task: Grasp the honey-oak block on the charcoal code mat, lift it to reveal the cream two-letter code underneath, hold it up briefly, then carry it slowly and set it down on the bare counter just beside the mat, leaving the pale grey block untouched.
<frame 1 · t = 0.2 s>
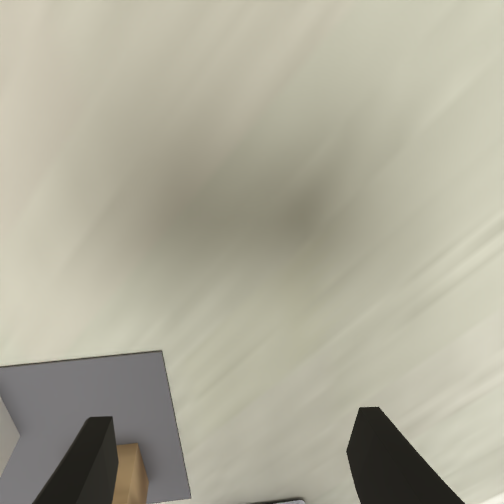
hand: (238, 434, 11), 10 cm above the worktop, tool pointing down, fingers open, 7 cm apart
code mat: (64, 447, 25), on the worktop
oak block: (110, 467, 26), resting on code mat
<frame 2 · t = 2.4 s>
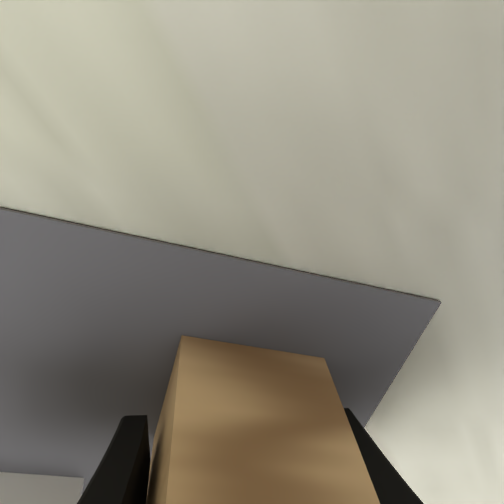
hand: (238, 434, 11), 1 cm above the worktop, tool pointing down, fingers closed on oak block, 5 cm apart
code mat: (145, 438, 13), on the worktop
oak block: (236, 399, 12), resting on code mat, touching gripper
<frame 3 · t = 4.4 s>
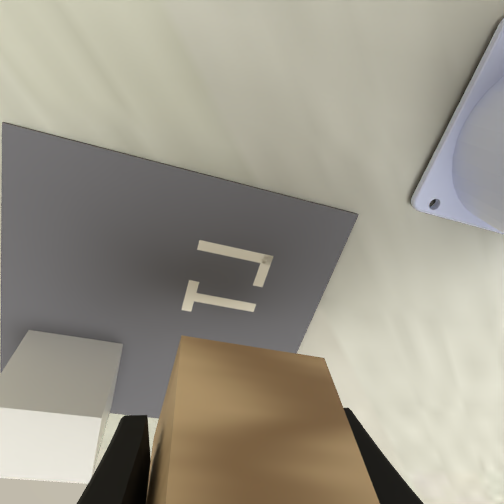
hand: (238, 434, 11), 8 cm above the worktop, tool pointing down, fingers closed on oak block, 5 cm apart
code mat: (165, 314, 19), on the worktop
oak block: (235, 399, 12), point 7 cm above the worktop, touching gripper
grey block: (73, 369, 20), resting on code mat
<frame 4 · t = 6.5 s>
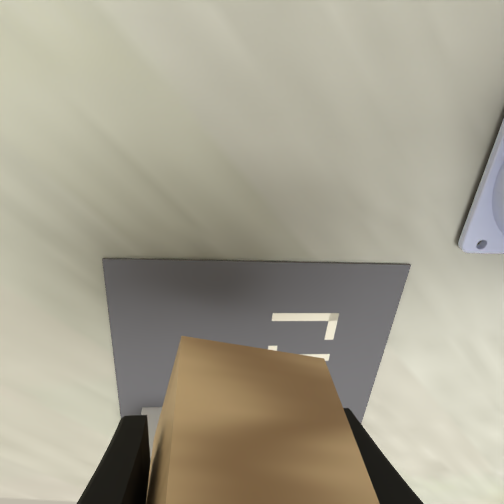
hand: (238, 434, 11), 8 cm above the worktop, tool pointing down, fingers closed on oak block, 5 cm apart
code mat: (252, 375, 22), on the worktop
oak block: (235, 399, 12), point 7 cm above the worktop, touching gripper
grey block: (181, 431, 23), resting on code mat
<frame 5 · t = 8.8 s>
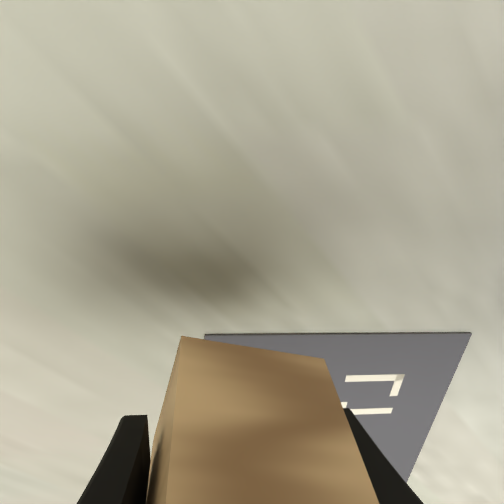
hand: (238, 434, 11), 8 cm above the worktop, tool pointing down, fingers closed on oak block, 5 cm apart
code mat: (321, 426, 24), on the worktop
oak block: (235, 399, 12), point 7 cm above the worktop, touching gripper
when the fingers open (3 cm above the worktop, at t = 10.8 s): oak block drops 2 cm, on the worktop.
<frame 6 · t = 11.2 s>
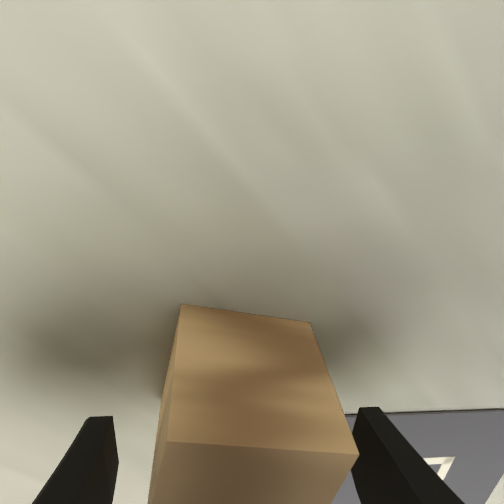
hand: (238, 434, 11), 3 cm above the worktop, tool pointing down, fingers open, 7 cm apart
oak block: (232, 361, 14), on the worktop
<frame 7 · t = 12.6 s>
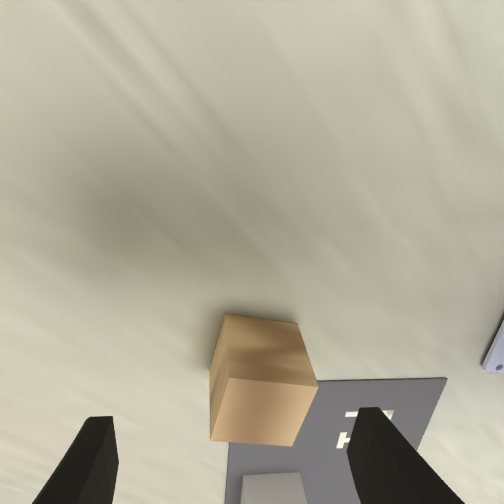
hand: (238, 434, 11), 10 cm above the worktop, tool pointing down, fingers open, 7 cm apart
code mat: (325, 451, 29), on the worktop
oak block: (252, 346, 23), on the worktop
grey block: (269, 490, 30), resting on code mat
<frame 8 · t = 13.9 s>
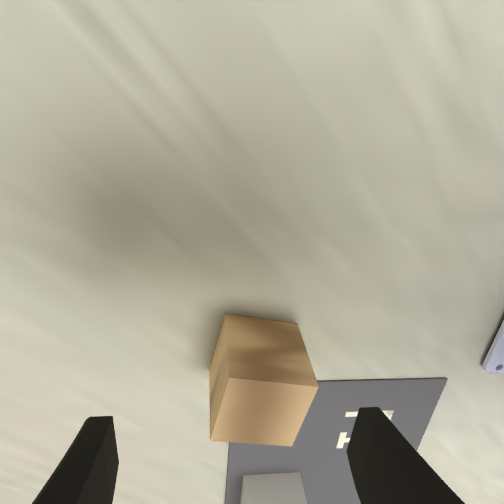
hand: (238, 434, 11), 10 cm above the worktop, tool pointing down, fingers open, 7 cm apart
code mat: (325, 451, 29), on the worktop
oak block: (252, 346, 23), on the worktop
grey block: (269, 490, 30), resting on code mat
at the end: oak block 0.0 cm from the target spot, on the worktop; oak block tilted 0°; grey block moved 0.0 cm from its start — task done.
